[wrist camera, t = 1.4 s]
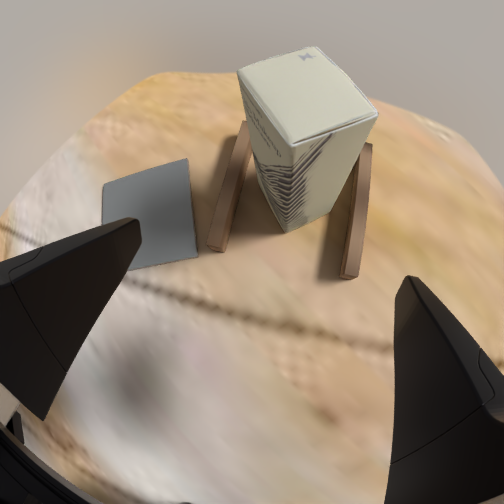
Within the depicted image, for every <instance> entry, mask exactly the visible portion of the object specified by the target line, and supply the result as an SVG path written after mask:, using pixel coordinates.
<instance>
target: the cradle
mask: <svg viewBox="0 0 504 504" xmlns="http://www.w3.org/2000/svg"><path fill="white" fill-rule="evenodd" d="M251 153H252V146H251V141H250V135H249V130H248V125H247V121H242V124H241V128H240V131H239V134H238V137H237V140H236V143H235V146H234V149H233V152H232V156H231V159H230V162H229V165H228V169H227V172H226V175H225V178H224V182H223V185H222V189H221V192H220V195H219V199H218V202H217V206H216V209H215V213H214V216H213V220H212V223H211V227H210V231H209V234H208V238H207V242H206V245H207V246H209V247H210V248H211V249H212V250H215V251H220V252H225V249H226V245H227V241H228V238H229V234H230V230H231V226H232V222H233V218H234V215H235V211H236V207H237V203H238V200H239V196H240V192H241V189H242V185H243V181H244V178H245V174H246V171H247V167H248V163H249V160H250V156H251ZM371 163H372V144H370V143H366V142H365V143H364V145H363V148H362V150H361V152H360V154H359V156H358V158H357V160H356V162H355V171H354V181H353V190H352V198H351V206H350V214H349V221H348V228H347V235H346V241H345V247H344V253H343V259H342V265H341V270H340V275H339V277H341V278H346V279H350V280H352V279H354V278H357V277H358V275H359V269H360V263H361V256H362V250H363V243H364V236H365V228H366V220H367V211H368V201H369V190H370V178H371Z"/></svg>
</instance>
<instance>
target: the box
mask: <svg viewBox="0 0 504 504" xmlns="http://www.w3.org/2000/svg"><path fill="white" fill-rule="evenodd" d="M237 76H238V80H239V85H240V90H241V94H242V99H243V104H244V109H245V114H246V119H247V125H248V130H249V135H250V141H251V146H252V151H253V156H254V162H255V168H256V173H257V179H258V183H259V186H260V188H261V190H262V192H263V194H264V196H265V198H266V200H267V202H268V204H269V206H270V207H271V209H272V211H273V213H274V215H275V217H276V218H277V220H278V222H279V224H280V226H281V227H282V229H283V231H284V232H285V233H288V232H290V231H293V230H295V229H297V228H299V227H302V226H304V225H306V224H308V223H310V222H312V221H314V220H316V219H318V218H320V217H322V216H323V215H325V214H327V213H329V212H330V211H331V209H332V207H333V205H334V203H335V202H336V200H337V198H338V196H339V194H340V192H341V190H342V188H343V186H344V184H345V182H346V180H347V178H348V176H349V174H350V172H351V170H352V168H353V166H354V164H355V162H356V160H357V158H358V156H359V154H360V152H361V150H362V148H363V145H364V143H365V141H366V139H367V137H368V135H369V133H370V131H371V129H372V127H373V125H374V123H375V122H376V120H377V118H378V112H377V110H376V108H375V107H374V106H373V105H372V103H371V102H370V101H369V100H368V98H367V97H366V96H365V95H364V94H363V93H362V92H361V90H360V89H359V88H358V87H357V86H356V85H355V84H354V82H353V81H352V80H351V79H350V78H349V77H348V76H347V74H346V73H345V72H343V71H342V70H341V69H340V68H339V67H338V66H337V65H336V64H335V63H334V62H333V61H332V60H330V58H329V57H328V56H326V55H325V54H324V53H323V52H322V51H321V50H320V49H319V48H318V47H316V46H313V47H306V48H302V49H298V50H295V51H291V52H287V53H284V54H281V55H277V56H274V57H271V58H268V59H265V60H263V61H259V62H257V63H254V64H251V65H248V66H246V67H243V68H241V69H239V70H237Z"/></svg>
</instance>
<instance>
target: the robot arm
mask: <svg viewBox="0 0 504 504" xmlns="http://www.w3.org/2000/svg"><path fill="white" fill-rule="evenodd" d="M141 244H142V235H141V228H140V222H139V220H138V219H137V218H132V217H126V218H123V219H120V220H117V221H114V222H110V223H107V224H104V225H101V226H98V227H95V228H92V229H89V230H86V231H83V232H81V233H78V234H75V235H72V236H69V237H66V238H64V239H61V240H58V241H55V242H53V243H50V244H47V245H45V246H44V247H43V246H42V247H40V248H37V249H34V250H32V251H29V252H26V253H24V254H21V255H18V256H16V257H13V258H10V259H7V260H4V261H2V262H0V504H104V503H102V502H100V501H98V500H97V499H95V498H93V497H92V496H90V495H89V494H87V493H85V492H84V491H82V490H81V489H79V488H78V487H76V486H75V485H73V484H72V483H71V482H69V481H68V480H66V479H65V478H64V477H62V476H61V475H59V474H58V473H57V472H56V471H54V470H53V469H52V468H50V467H49V466H48V465H47V464H45V463H44V462H43V461H42V460H40V459H39V458H38V457H37V456H36V455H35V454H33V453H32V452H31V451H30V450H29V449H28V448H27V447H26V446H25V445H24V437H23V431H22V424H21V416H20V414H19V413H18V412H17V411H16V409H17V408H18V406H19V405H20V403H22V404H23V405H24V406H25V407H26V408H27V409H29V410H30V411H31V412H32V413H33V414H34V415H36V416H37V417H38V418H39V419H41V420H42V421H44V419H45V418H46V416H47V413H48V411H49V409H50V407H51V405H52V403H53V400H54V398H55V396H56V394H57V392H58V390H59V388H60V386H61V384H62V382H63V380H64V378H65V376H66V374H67V373H66V372H68V370H69V368H70V366H71V364H72V363H73V361H74V359H75V357H76V355H77V353H78V352H79V350H80V348H81V346H82V344H83V343H84V341H85V339H86V337H87V336H88V334H89V332H90V331H91V329H92V327H93V325H94V324H95V322H96V320H97V319H98V317H99V315H100V314H101V312H102V311H103V309H104V307H105V306H106V304H107V303H108V301H109V299H110V298H111V296H112V295H113V293H114V292H115V290H116V288H117V287H118V285H119V284H120V282H121V281H122V279H123V277H124V276H125V274H126V272H127V270H128V268H129V266H130V264H131V263H132V261H133V259H134V257H135V255H136V253H137V252H138V250H139V248H140V246H141ZM394 368H395V402H394V427H393V441H392V452H391V462H390V464H391V465H390V469H389V476H388V483H387V490H386V496H385V501H384V504H504V375H503V374H502V373H501V372H500V371H499V369H498V368H497V367H496V366H495V365H494V363H493V362H492V361H491V360H490V358H489V357H488V356H487V355H486V353H485V352H484V351H483V349H482V348H480V346H479V345H478V343H477V342H476V341H475V340H474V338H473V337H472V336H471V335H470V334H469V332H468V331H467V330H466V329H465V328H464V327H463V325H462V324H461V323H460V322H459V321H458V320H457V318H456V317H455V316H454V315H453V314H452V313H451V312H450V311H449V310H448V308H447V307H446V306H445V305H444V304H443V303H442V302H441V301H440V300H439V299H438V298H437V296H436V295H435V294H434V293H433V292H432V291H431V290H430V289H429V288H428V287H427V286H426V285H425V284H424V283H423V282H422V281H421V280H420V279H419V278H418V277H414V276H410V275H408V276H406V277H405V278H404V280H403V282H402V284H401V286H400V288H399V290H398V292H397V294H396V297H395V317H394Z"/></svg>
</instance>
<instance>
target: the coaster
mask: <svg viewBox="0 0 504 504" xmlns="http://www.w3.org/2000/svg"><path fill="white" fill-rule="evenodd" d="M126 217H132V218H137V219H138V220H139V222H140V228H141V235H142V244H141V246H140V248H139V250H138V252H137V253H136V255H135V257H134V259H133V261H132V263H131V264H130V266H129V268H128V270H127V271H130V270H135V269H140V268H146V267H151V266H156V265H161V264H166V263H171V262H176V261H182V260H187V259H192V258H197V257H198V250H197V242H196V234H195V225H194V216H193V206H192V196H191V185H190V174H189V162H188V159H187V158H186V159H182V160H178V161H175V162H171V163H168V164H164V165H161V166H157V167H154V168H151V169H147V170H144V171H141V172H138V173H135V174H132V175H129V176H126V177H123V178H120V179H117V180H114V181H111V182H108V183H106V184H104V187H103V216H102V225H104V224H107V223H110V222H114V221H117V220H120V219H123V218H126Z"/></svg>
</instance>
